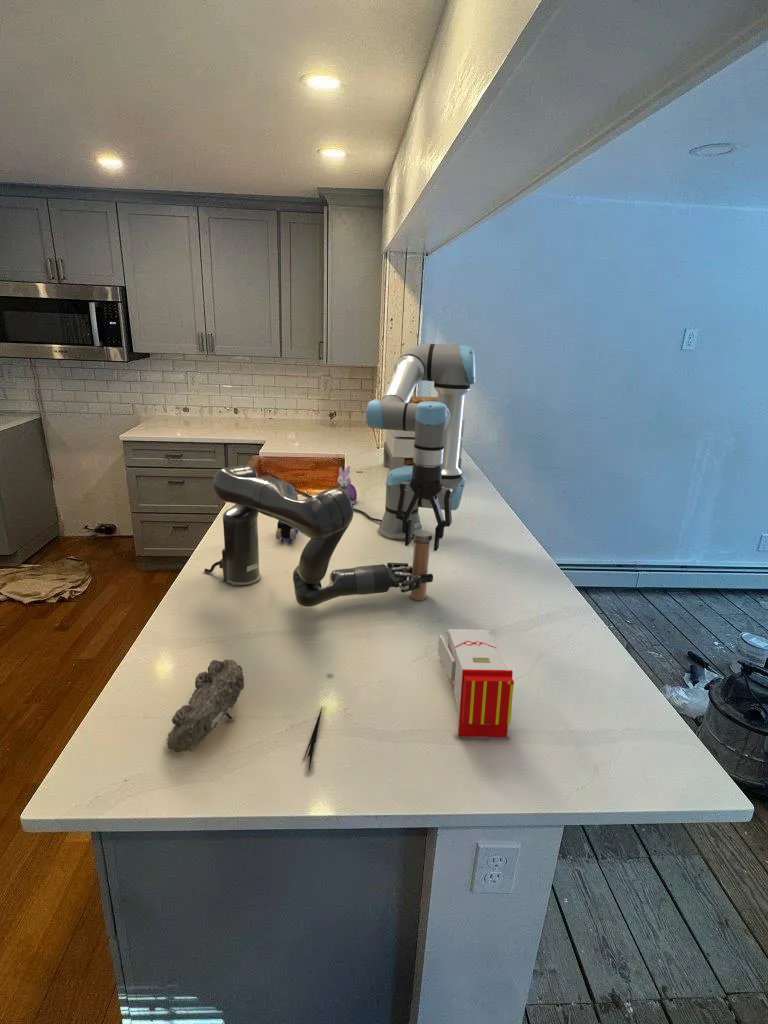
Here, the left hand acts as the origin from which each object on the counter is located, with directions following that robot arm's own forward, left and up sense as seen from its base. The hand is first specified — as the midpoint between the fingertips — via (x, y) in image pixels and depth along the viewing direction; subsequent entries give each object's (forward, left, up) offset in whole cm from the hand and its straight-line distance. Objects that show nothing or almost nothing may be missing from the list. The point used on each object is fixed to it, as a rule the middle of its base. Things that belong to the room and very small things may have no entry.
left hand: (428, 573), depth 156 cm
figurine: (-37, +71, -7) cm, 81 cm away
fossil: (-38, -58, -7) cm, 69 cm away
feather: (-17, -55, -7) cm, 58 cm away
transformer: (-11, +124, -7) cm, 125 cm away
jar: (-2, -1, -7) cm, 7 cm away
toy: (+11, -41, -7) cm, 43 cm away
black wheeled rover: (-49, +31, -7) cm, 58 cm away
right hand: (-2, -1, +8) cm, 9 cm away
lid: (-2, -1, +12) cm, 12 cm away
